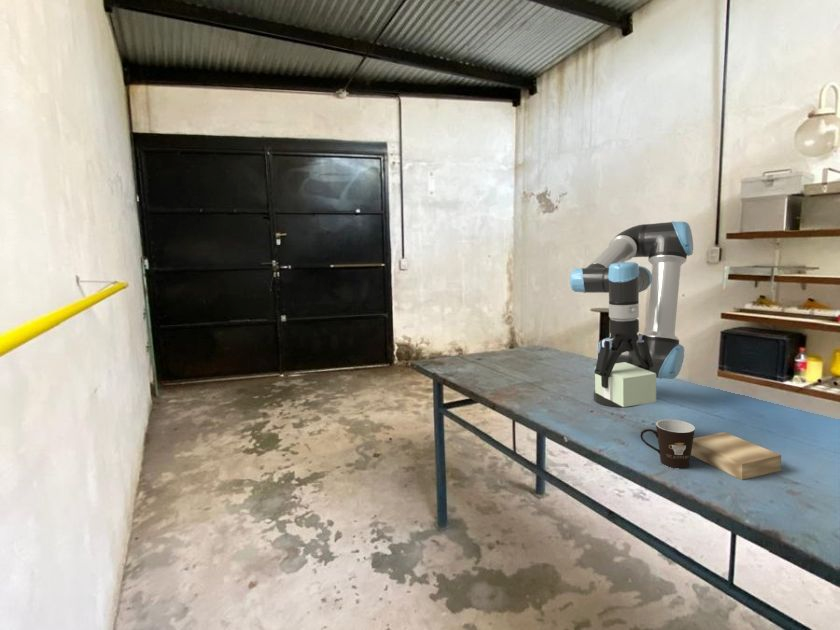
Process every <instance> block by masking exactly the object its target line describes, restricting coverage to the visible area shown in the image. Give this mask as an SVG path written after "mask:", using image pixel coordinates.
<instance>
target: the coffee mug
mask: <svg viewBox="0 0 840 630" xmlns="http://www.w3.org/2000/svg"><path fill="white" fill-rule="evenodd" d="M655 425H656V426H655V427H656V430H654V429H652V428H647V429H646V428H645V429H643V430H641V432H640V435H639V436H640V439H641V441H642V442H643V443H644V444H645V445H647V446H648V447H649V448H651V449H652V450H654V451H656V452H657V453H658V454H659V460H660V463H661V464H662V465H663V464H664V465H663V466H665V465H666V466H665V467H667V466H668V468H670V467H671V468H672V469H675V468H679V469H678V470H684V469H683V468H685V469H688V468H689V466H690V461H691V457H692V455H691V450H692V444H693V438H695V430H696V427H695V426H694V425H693V424H692V423H689V422H686V421H684V420H678V419H661V420H658V421H656V423H655ZM647 432H651V433H653V434H654V435H655V437H656V438H657V443H658V448H656V447H655V446H653V445H651V444H650V443H648V442H647V441H646V440H645V439H644V437H643V436H644V434H645V433H647Z"/></svg>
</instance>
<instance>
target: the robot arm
mask: <svg viewBox="0 0 840 630" xmlns="http://www.w3.org/2000/svg"><path fill="white" fill-rule="evenodd" d="M693 239H694V238H693V233H692V228H691V226H690V224H689V223H688V222H687V221H670V222H669V221H668V222H658V223H647V224H638V225H634V226H632V227H629V228H627V229H624V230H623V231H621V232H620V233H618V234H617V235H615V236H614V237H613V238H612V239H611V240H610V242H609V243H608V247H606V248H605V249H604V250H603V251H602V252H601V253H600V254H598V256H597V257H596V258H595V259H593V261H592V262H591V263H590V264H589V265H588V266H587V267H584V268H583V267H581V268H580V267H579V268H574V269H573V270H572V271H571V272H570V276H569V284H570V288H571V290H572V291H574V292H575V293H582V294H583V293H584V294H586V293H587V294H590V293H594V294H596V293H598V294H599V293H602V294H603V293H608V317H609V318H610V319H609V321H608V322H609V323H608V324H609V325H608V330H609V334H610V337H606V338H603V339H601V340H599V342H598V347H597V348H598V349H597V359H596V360H597V361H596V364H595V366H596V368H595V367H594V375H595V374H597V375H600V376H601V385H602V387H603V388H604V397H603V396H601V395H599V394H597V393H595V390H594V391H593V393H592V394H593V397H592V399H593V401H594V402H596V403H597V404H599V405H603V406H607V407H613V408H615V407H616V408H623V407H622V406H620V405H618V404H616V403H615V402H613V401H611V400H612V377H610V373H611V371H612V369H613V367H614V365H615V364H616V363H623V362H626V363H629V364H632V365H634V366H637V367H640V368H642V369H645V370H648V371H651V372H653V373H656V379H660V380H662V379H667V380H673V379H676V378H677V377H679V376H678V375H679V374H680V371H681V369H682V366H683V364H684V359H685V358H684V357H685V347H684V346H683V345H682V344H680V339H679V338H678V337H677V336H676V333H675V332H676V324H677V323H676V321H677V311H678V310H677V309H678V303H679V302H678V300H679V287H680V277H681V266H682V265H684V264H685V263H686V262H687V257H689V256H692V255H693V253H694V241H693ZM633 258H648V259H647V260H648V262H649V263H650V264H651V265H652V267H651V268H652V269H651V271H650V270H649V269H648V268H647V267H645V266H642V265H641V266H640V265H639V264H638V263H637V262H634V261H630V260H632V259H633ZM628 261H629V262H628ZM649 287H650V289H649V290H650V291H649V299H648V310H647V320H646V321H647V322H646V329H645V330H646V331H645V333H643V334H641V333H639V330H640V321H639V319H638V318H639V317H640V314H639V313H640V311H639V310H640V308H639V307H640V304H639V300H640V299H639V296H640V294H639V293H641V292H644V291H645V290H647V289H648V288H649ZM638 333H639V334H638ZM627 407H629V406H627ZM627 407H626V408H627Z"/></svg>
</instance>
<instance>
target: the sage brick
mask: <svg viewBox="0 0 840 630" xmlns="http://www.w3.org/2000/svg"><path fill="white" fill-rule="evenodd" d="M595 368H596V365H595V366H594V369H595ZM610 377H612V400H611V401H613V402H615V403H616V404H618V405H620V406H622V407H621V408H627V406H628V407H633V406H634V407H635V406H639V405H644V404H651V403H656V402H657V378H656V373H653V372H651V371H648V370H645V369H642V368H640V367H637V366H634V365H632V364H629V363H626V362H623V363H616V364H615V365H614V367H613V369H612V371H611V373H610ZM594 388H595V389H594V391H595V393H597V394H599V395H601V396H603V397H604V388H603V387H602V385H601V376H600V375H597V374H595V373H594Z"/></svg>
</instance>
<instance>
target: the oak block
mask: <svg viewBox="0 0 840 630" xmlns="http://www.w3.org/2000/svg"><path fill="white" fill-rule="evenodd" d="M692 456H693V457H694V458H696V459H698V460H701V461H702V462H705V463H706V464H708V465H711V466H712V467H715V468H717V469H718V470H720V471H723V472H724V473H727V474H729V475H731V476H733V477H735V478H737V479H739V480H741V481H743V480H748V479H753V478H756V477H760V476H764V475H768V474H773V473H776V472H781V471H782V454H780V453H777V452H775V451H772V450H770V449H768V448H766V447H763V446H760V445H757V444H755V443H752V442H750V441H748V440H745V439H742V438H740V437H739V436H738V437H737V436H735V435H733V434H730V433H727V432H725V431H723V432H718V433H714V434H710V435H708V434H707V435H704V436H699V437H694V438H693V444H692V450H691V457H692Z"/></svg>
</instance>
